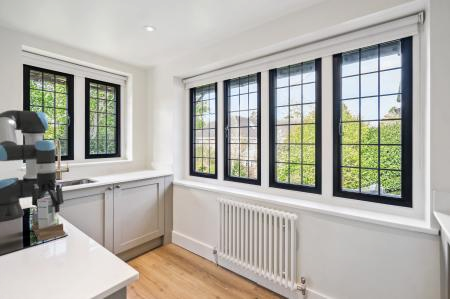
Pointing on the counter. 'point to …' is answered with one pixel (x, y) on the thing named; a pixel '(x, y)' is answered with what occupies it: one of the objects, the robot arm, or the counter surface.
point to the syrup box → (46, 212)
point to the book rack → (46, 229)
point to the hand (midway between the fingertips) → (48, 219)
